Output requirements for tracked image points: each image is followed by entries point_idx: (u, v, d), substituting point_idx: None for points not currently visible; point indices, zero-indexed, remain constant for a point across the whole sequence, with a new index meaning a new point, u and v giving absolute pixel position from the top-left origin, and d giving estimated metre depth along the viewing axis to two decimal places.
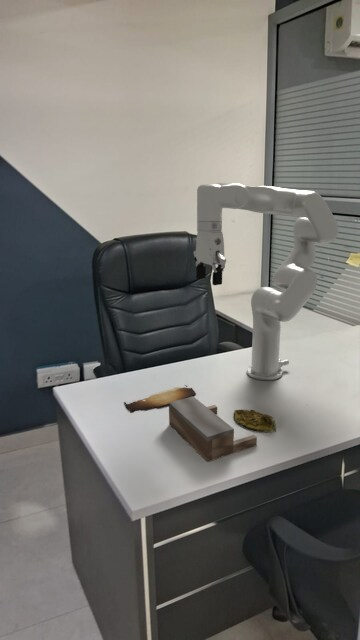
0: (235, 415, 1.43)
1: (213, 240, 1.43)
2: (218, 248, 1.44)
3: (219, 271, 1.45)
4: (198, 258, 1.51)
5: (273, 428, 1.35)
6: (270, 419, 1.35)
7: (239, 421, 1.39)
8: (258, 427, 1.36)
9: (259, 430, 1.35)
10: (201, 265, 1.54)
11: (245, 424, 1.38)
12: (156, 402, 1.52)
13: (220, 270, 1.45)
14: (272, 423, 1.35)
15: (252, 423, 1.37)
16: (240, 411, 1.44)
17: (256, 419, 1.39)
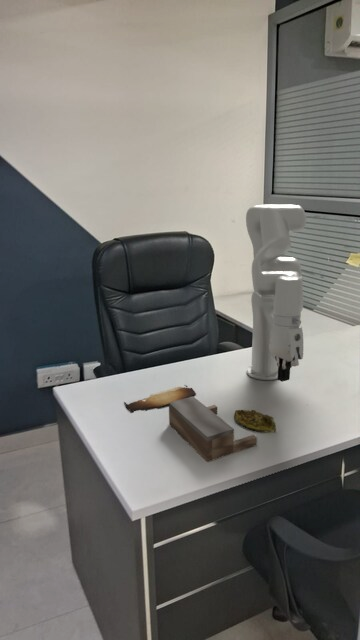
0: (236, 415, 1.43)
1: (293, 336, 1.33)
2: (298, 344, 1.33)
3: (288, 368, 1.38)
4: (272, 351, 1.40)
5: (273, 429, 1.35)
6: (270, 419, 1.35)
7: (239, 421, 1.39)
8: (259, 427, 1.36)
9: (259, 430, 1.35)
10: None
11: (245, 424, 1.37)
12: (156, 402, 1.52)
13: (289, 367, 1.38)
14: (272, 424, 1.35)
15: (252, 423, 1.37)
16: (241, 411, 1.44)
17: (256, 419, 1.38)
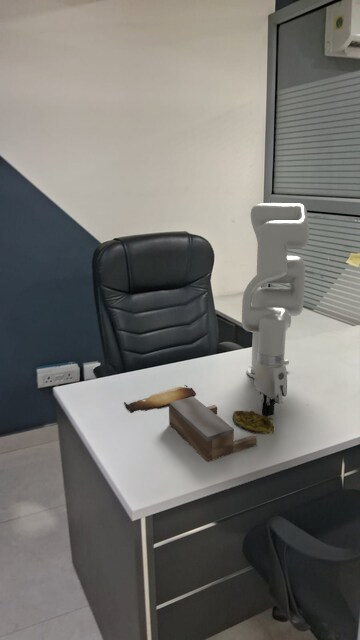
0: (234, 416, 1.42)
1: (276, 375, 1.34)
2: (281, 383, 1.35)
3: (272, 404, 1.40)
4: (257, 387, 1.42)
5: (272, 430, 1.34)
6: (269, 421, 1.34)
7: (238, 422, 1.39)
8: (257, 428, 1.35)
9: (258, 431, 1.34)
10: None
11: (244, 425, 1.37)
12: (156, 402, 1.52)
13: (273, 403, 1.40)
14: (271, 425, 1.34)
15: (251, 424, 1.36)
16: (239, 412, 1.43)
17: (255, 420, 1.38)
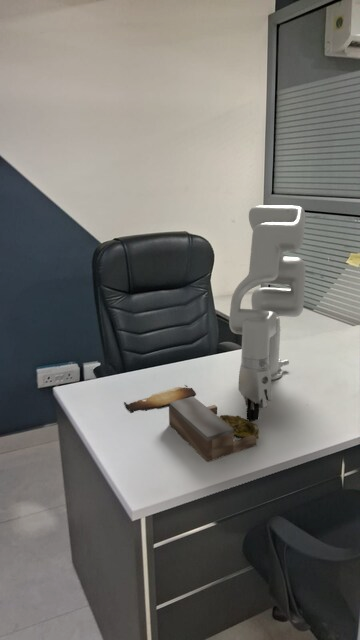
0: None
1: (260, 379, 1.31)
2: (265, 387, 1.32)
3: (256, 408, 1.37)
4: (241, 391, 1.39)
5: (256, 435, 1.32)
6: (253, 426, 1.32)
7: None
8: (241, 434, 1.33)
9: (241, 437, 1.32)
10: None
11: None
12: (156, 402, 1.52)
13: (257, 408, 1.37)
14: (255, 430, 1.32)
15: (235, 429, 1.34)
16: (225, 417, 1.41)
17: (240, 425, 1.36)
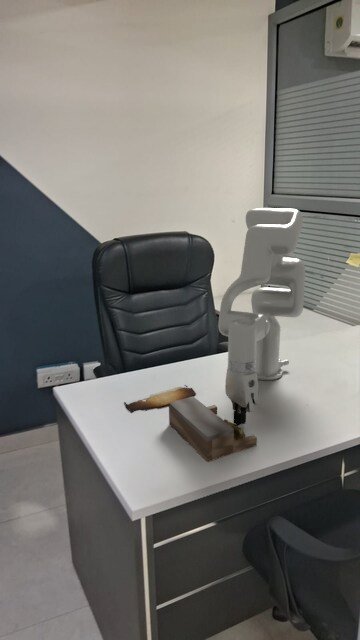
0: None
1: (246, 383, 1.29)
2: (252, 390, 1.30)
3: (243, 412, 1.35)
4: (228, 394, 1.37)
5: None
6: (238, 431, 1.30)
7: None
8: None
9: None
10: None
11: None
12: (156, 402, 1.52)
13: (244, 411, 1.35)
14: (240, 435, 1.30)
15: None
16: None
17: None
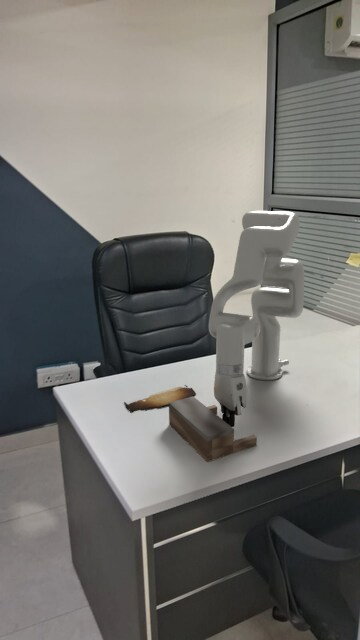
0: None
1: (234, 386, 1.27)
2: (240, 393, 1.28)
3: (231, 415, 1.33)
4: (216, 397, 1.35)
5: None
6: None
7: None
8: None
9: None
10: None
11: None
12: (156, 402, 1.52)
13: (233, 415, 1.33)
14: None
15: None
16: None
17: None
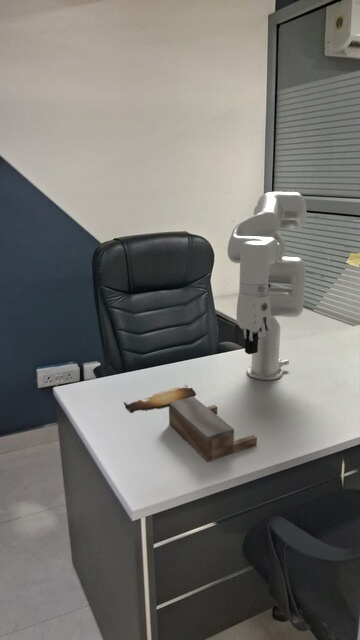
0: None
1: (259, 306, 1.24)
2: (264, 314, 1.25)
3: (255, 339, 1.30)
4: (239, 322, 1.32)
5: None
6: None
7: None
8: None
9: None
10: None
11: None
12: (156, 402, 1.52)
13: (256, 338, 1.30)
14: None
15: None
16: None
17: None
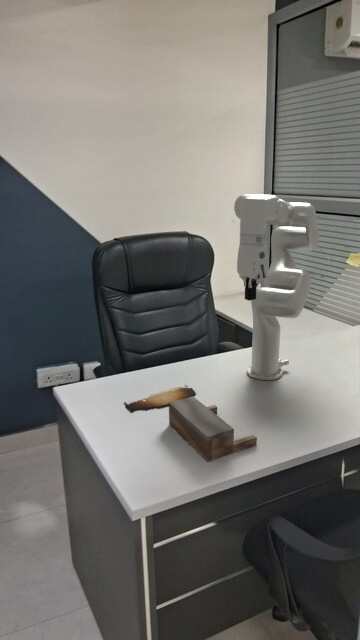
0: None
1: (257, 254, 1.40)
2: (262, 262, 1.41)
3: (254, 286, 1.46)
4: (239, 272, 1.47)
5: None
6: None
7: None
8: None
9: None
10: None
11: None
12: (156, 402, 1.52)
13: (255, 285, 1.45)
14: None
15: None
16: None
17: None
